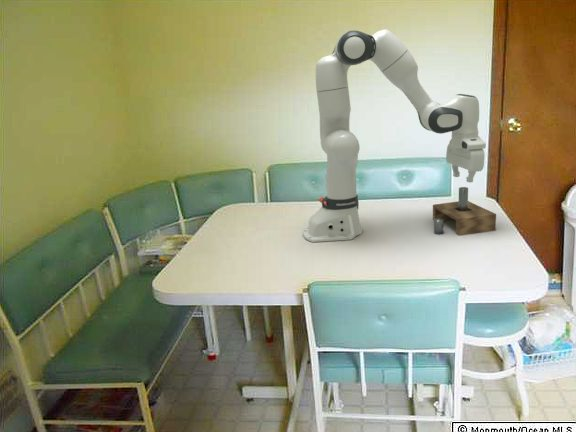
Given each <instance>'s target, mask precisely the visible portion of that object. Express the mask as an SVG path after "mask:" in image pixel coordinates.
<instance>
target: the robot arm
mask: <svg viewBox="0 0 576 432" xmlns="http://www.w3.org/2000/svg"><path fill="white" fill-rule="evenodd" d="M366 61H371V62H373V63H374V64H375V66H376V67H377V68H378V69H379V70H380V72H381V73H382V74H383V76H384V77H385V78H386V79H387V80H388V81H389V82H390V83H391V84H392V85H393V86H395V87H396V88H398V90H400V91H401V92H402V93H403V94H404V95H405V96H406V98H407V100H408V101H409V102H410V103H411V104H412V106H413V108H414V109H415V110H416V113H417V115H418V116H417V117H418V120H419V124H420V126H421V127H423V128H424V130H427V131H430V132H432V133H436V134H441V135H442V134H446V133H450V132H451V139H450V140H449V143H448V145H447V146H446V155H445V161H446V163H447V164H450V165H451V169H452V173H453V174H452V176H453V177H454V178H459V177H460V174H461V172H460V170H459V168H462V169H465V170H467V173H468V174H467V176H466V177H465V179H466V182H467V183H474V178H475V175H476V173H477V172H482V170H483V169H484V166H485V150H484V149H486V142H485V141H484V140H483V139H482V138H481V137H480V135H479V127H478V124H479V122H480V103H479V99H478V98H477V96H475V95H470V94H464V93H457V94H455V95H454V96H453V97H452V98H450V99H448V100H447V101H445V102H443V103H438V102H436V101H435V100H433V99H432V98H431V97H430V95H429V94H428V93H427V91H426V90H425V89H424V87H423V86H422V84H421V83H420V80H419V78H418V71H419V67H418V66H419V65H418V63H417V62H416V60H415V58H414V56H413V54H412V53H411V52H410V50H409V49H408V47H407V46H406V45H405V44H404V43H403V42H402V41H401V39H399V38H398V36H397V35H395V34H394V33H393V32H392V31H391V30H389V29H380V30H378V31H376V32H375V33H373V34H372V35H371V34H368V33H366V32H363V31H359V30H348V31H345V32H343V33H342V34H341V35H340V36H339V37H338V39H337V41H336V44H335V46H334V48H333V52H332V53H331V54H329V55H326V56H323V57H321V58H320V59H319V60H318V61H317V62H316V64H315V65H316V66H315V88H316V89H315V90H316V95H317V104H318V113H319V136H320V146H321V148H322V151H323V152H324V153H325V154H326V157H327V159H326V160H327V164H326V173H325V186H326V187H325V188H326V191H325V192H326V196H325V197H323V196H319V198H318V202H320V204H321V207H320V208H319V209H318V210H317V211H315V213H313V214H312V215H311V216H310V217H309V219H308V227H307V228H304V229H303V230H302V237H303V238H304V239H305V240H306V241H309V242H312V243H319V242H321V243H322V242H335V241H349V240H354V239H355V237H357V236H359V235H361V234H362V233H363V228H362V225H361V222H360V217H359V195H358V194H357V167H358V159H359V157H358V156H359V154H360V152H359V151H360V143H359V139H358V138H357V136H356V135H355V134H354V133H353V132H352V131H350V116H351V111H352V109H351V101H350V91H349V82H348V71H349V69H350V67H351V66H357V65H360V64H362V63H364V62H366Z"/></svg>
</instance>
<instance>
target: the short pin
mask: <svg viewBox="0 0 576 432" xmlns="http://www.w3.org/2000/svg"><path fill="white" fill-rule="evenodd" d="M433 233H434V234H435V235H443V234H444V220H443V219H440V218H437V219H434V220H433Z"/></svg>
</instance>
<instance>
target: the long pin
mask: <svg viewBox="0 0 576 432" xmlns="http://www.w3.org/2000/svg"><path fill="white" fill-rule="evenodd" d="M458 201H459V206H458V211H460V212H462V211H468V201H469V187H466V186H461V187H458Z"/></svg>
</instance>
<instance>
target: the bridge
mask: <svg viewBox="0 0 576 432" xmlns="http://www.w3.org/2000/svg"><path fill="white" fill-rule="evenodd" d="M458 206H459V200H458V201H453V202H452V201H451V202H444V203H435V204H432V220H433V221H434V219H437V218H440V219H443V221H444V220H445V221H446V220H451V219H453V220H454V221H455V234H456V235H457V236H463V235H471V234H476V233H478V234H479V233H486V232H491V231H496V226H497V225H496V223H497V213H494V212H492V211H490V210H489V209H486V208H485V207H482V206H480V205H479V204H476V203H474V202H471V201H469V200H468V211H462V212H460V211H458Z"/></svg>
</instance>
